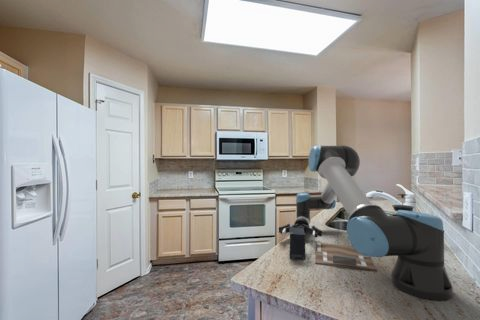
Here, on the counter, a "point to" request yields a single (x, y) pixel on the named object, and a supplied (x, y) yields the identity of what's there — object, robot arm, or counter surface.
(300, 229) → the small box
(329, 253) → the keyhole plate
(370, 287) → the counter surface
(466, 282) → the counter surface
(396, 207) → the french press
